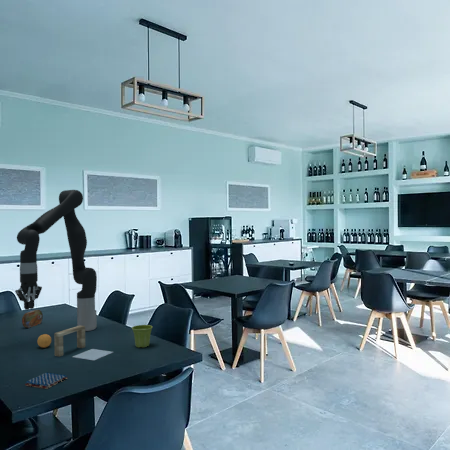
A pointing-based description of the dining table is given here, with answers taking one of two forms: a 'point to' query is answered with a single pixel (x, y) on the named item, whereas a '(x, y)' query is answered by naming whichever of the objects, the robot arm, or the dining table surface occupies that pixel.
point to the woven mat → (46, 380)
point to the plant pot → (142, 335)
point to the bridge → (59, 335)
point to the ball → (44, 340)
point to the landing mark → (92, 354)
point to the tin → (32, 318)
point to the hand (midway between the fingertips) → (29, 308)
